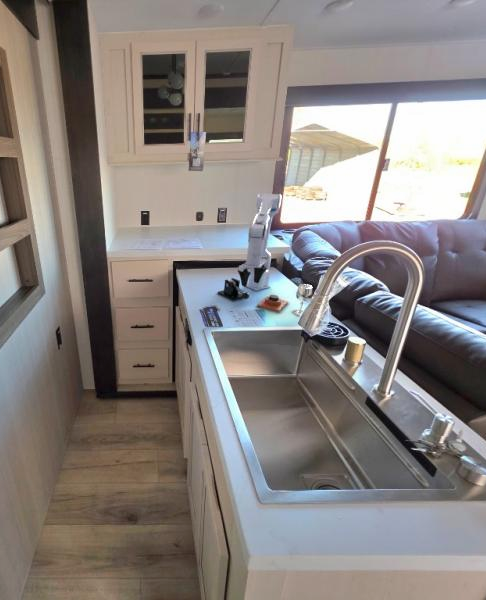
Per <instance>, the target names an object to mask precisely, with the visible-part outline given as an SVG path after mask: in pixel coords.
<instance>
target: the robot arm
mask: <svg viewBox="0 0 486 600" xmlns="http://www.w3.org/2000/svg"><path fill="white" fill-rule="evenodd" d="M282 197H283V196H282V194H281V193H280V194H277V193H258V194H257V199H256V210H257V213H256V214H255V216H254V218H253V222H252V224H250V225H249V228H248V233H247V234H248V237H247V238H248V239H247V243H248V245H247V253H246V261H245V262H244V263H243V264H241V265H238V268H237V273H238V275H239V277H240V284H241V287H246V288H249V289H251V290H254V291H260V290H264V289H267V288H270V285H269V281H270V277H271V273H270V271H269V270H270V267H271V261H272V255H271V253H270V252H269V251H268V250H267V248H268V243H269V237H270V231H271V227H272V221H273V218H274V216H275V215H277V214H279V212H280V209H281V204H282Z"/></svg>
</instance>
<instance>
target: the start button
mask: <svg viewBox="0 0 486 600" xmlns="http://www.w3.org/2000/svg"><path fill="white" fill-rule="evenodd" d="M269 296H270V297H269V300H271V301H278V298H280V297H279V295H277V294H270V295H269Z"/></svg>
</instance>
